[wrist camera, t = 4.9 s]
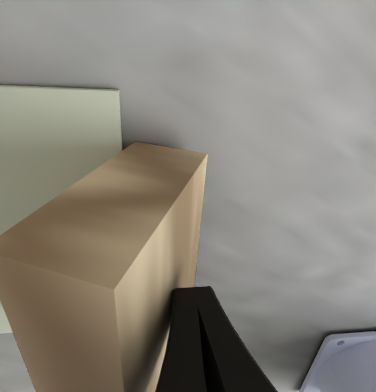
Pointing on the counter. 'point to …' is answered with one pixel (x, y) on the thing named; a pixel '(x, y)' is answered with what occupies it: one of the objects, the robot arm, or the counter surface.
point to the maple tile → (104, 271)
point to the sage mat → (51, 146)
